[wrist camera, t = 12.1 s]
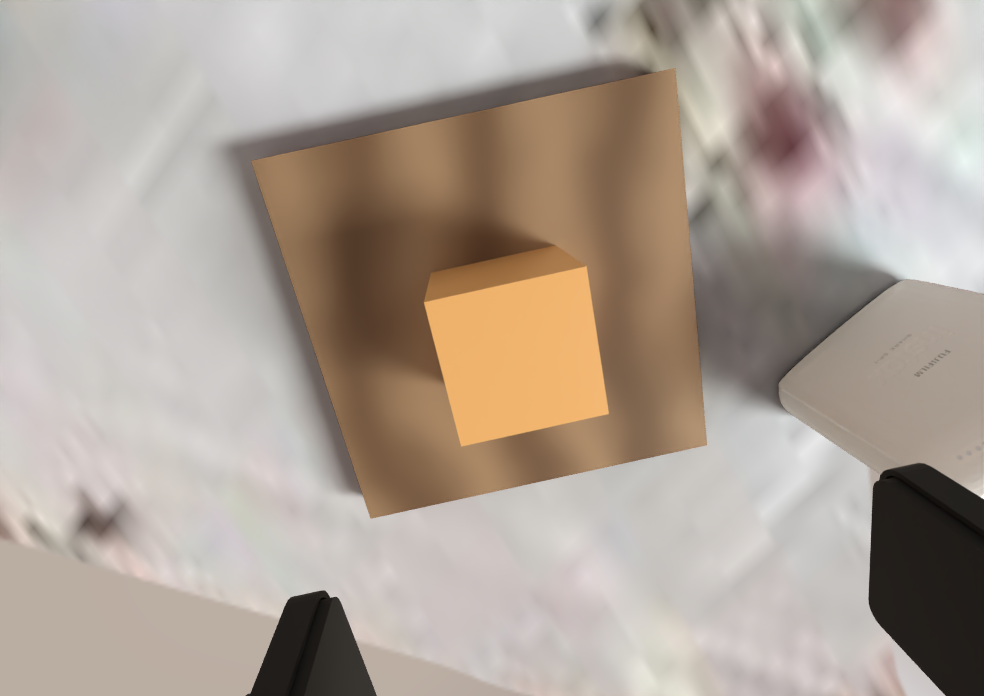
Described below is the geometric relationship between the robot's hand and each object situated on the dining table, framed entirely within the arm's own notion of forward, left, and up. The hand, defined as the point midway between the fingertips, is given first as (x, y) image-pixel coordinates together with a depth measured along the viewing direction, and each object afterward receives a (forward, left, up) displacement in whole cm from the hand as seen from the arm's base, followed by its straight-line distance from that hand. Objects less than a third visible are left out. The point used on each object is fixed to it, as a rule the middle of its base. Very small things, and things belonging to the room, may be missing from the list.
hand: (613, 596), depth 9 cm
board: (0, 0, -21) cm, 21 cm away
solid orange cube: (0, 0, -19) cm, 19 cm away
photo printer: (-20, +7, -22) cm, 30 cm away
